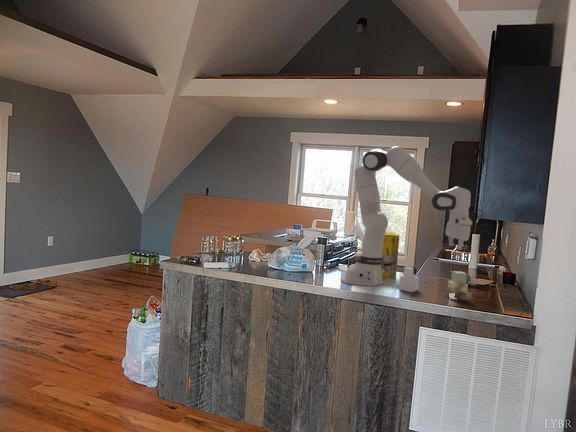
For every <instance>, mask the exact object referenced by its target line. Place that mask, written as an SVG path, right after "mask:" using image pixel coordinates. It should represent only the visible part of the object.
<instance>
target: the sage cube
mask: <svg viewBox="0 0 576 432" xmlns="http://www.w3.org/2000/svg"><path fill="white" fill-rule="evenodd" d="M467 275H468V273H467V272H463V271H461V270H460V271H457V270H453V271H452V274H451V281H452V282H454V283H460V284H467V277H468V276H467Z"/></svg>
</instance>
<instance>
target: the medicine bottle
mask: <svg viewBox="0 0 576 432" xmlns="http://www.w3.org/2000/svg"><path fill="white" fill-rule="evenodd" d="M403 269H404V270H403V275H401V276H400V278H399V289H398V290H400V291H404V292H409V293H414V292H418V290H419V284H420V283H419V280H420V277H419V276H417V268H416V267H414V266H405V267H404V268H403Z"/></svg>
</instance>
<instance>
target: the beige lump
mask: <svg viewBox="0 0 576 432" xmlns="http://www.w3.org/2000/svg"><path fill="white" fill-rule="evenodd" d="M449 293H455V297H456V298H457V299H459V301H467V298H468V297H467V295H468V292H467V293H466V292H453V291H451V290H449V289H448V287H447V288H446V297H448V298H449Z"/></svg>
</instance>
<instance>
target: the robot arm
mask: <svg viewBox="0 0 576 432" xmlns="http://www.w3.org/2000/svg"><path fill="white" fill-rule="evenodd" d="M385 167H390V168H391V169H392V170H393V171H395V172H396V174H397V175H398V176H399V177H401V178H402V179H404V180H405V181H406V182H409V183H410V184H414V185H415V186H417V187H418V189H420V190H421V191H422V192H423V193H424V194H425V195H426V196H427V197H428V198H429V199H430V201H431V204H432V205H431V206H432V207H433V208H434V209H435V210H436V211H439V212H445V211H449V218H448V221H447V223H446V227H445V231H444V232H445V236H447V237H448V246H450V247H453V246H454V244H455V243H454V239H456V240H458V241H457V242H458V243H457V244H456V249H457V250H461V249H462V247H463V244H464V242H467V241H469V239H470V234H471V226H473V221H472V220H471V219H470V217H469V214H470V211H469V209H470V207H471V198H472V195H471V191H470V190H469V189H468V188H466V187H462V186H454V187H452V188H450V189H448V190H444V191H443V190H441V189H440V188H438V187H437V186H436V185H435V184H434V183H433V182H432V181H431V180H430V179H429V178H428V177H427V175H426V174H425V172H424V170H423V168H422V167H421V165H420V163H419V162H418V161H417V160H416V159H415V158H414V157H413V156H412V155H411V154H410V153H409V152H408V151H406V150H405V149H403V148H402V147H400V146H397V145H396V146H393V147H390V148H389V149H388V150H386V149H384V148H382V147H380V148H373V149H371V150H368V151H367V152H365V154H364V155H363V157H362V164H361V165H359V166H357V167H356V168H355V169H354V181H355V182H354V183H355V187H356V192H357V197H358V201H359V208H360V215H361V216H360V217H361V223H362V224H363V227H364V228H365V229H364V234H363V239H362V242H361V253H360V255H357V254H356V255H355V257H354V258H355V259H356V263H353V264H352V265H351V266H349V267H347V269H346V271H345V276H341V277H340V281H341V282H343V284H344V283H345V284H346V285H347V284H348V285H358V286H367V287H368V286H371V287H377V286H380V285H383V283H384V281H383V278H382V271H381V268H382V264H383V257H382V251H383V242H384V237H385V233H386V232H387V228H388V226H389V225H388V224H389V219H388V217H387V216H386V214H385V213H383V212H382V209H381V197H380V191H379V187H378V182H377V177H376V173H377V172H378V171H381V170H382V169H384V168H385Z"/></svg>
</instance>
